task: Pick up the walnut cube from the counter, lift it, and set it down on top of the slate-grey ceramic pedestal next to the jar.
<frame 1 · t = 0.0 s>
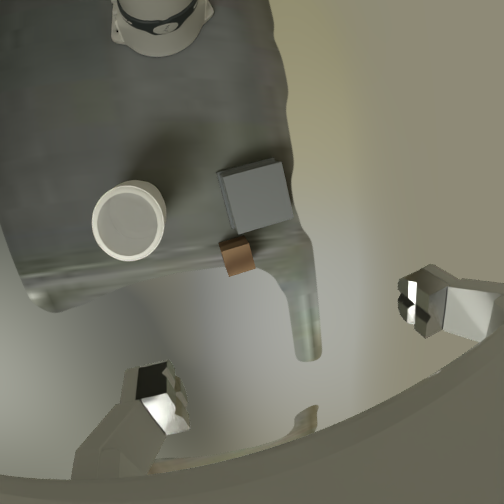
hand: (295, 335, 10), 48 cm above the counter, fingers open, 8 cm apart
pedestal: (252, 192, 57), on the counter
jar: (140, 203, 53), on the counter
cube: (234, 251, 60), on the counter
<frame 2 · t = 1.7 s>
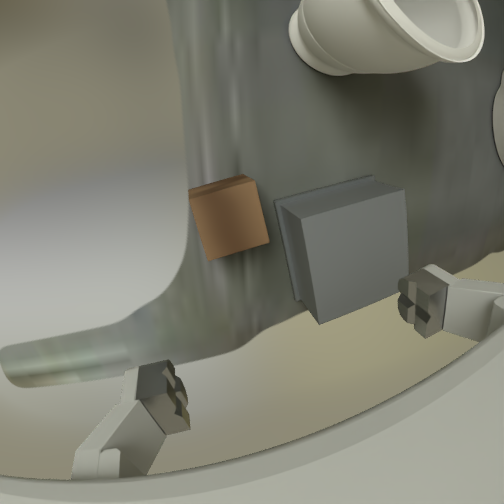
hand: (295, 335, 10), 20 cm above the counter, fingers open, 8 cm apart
pedestal: (333, 237, 31), on the counter
jar: (328, 38, 24), on the counter
cube: (222, 208, 28), on the counter
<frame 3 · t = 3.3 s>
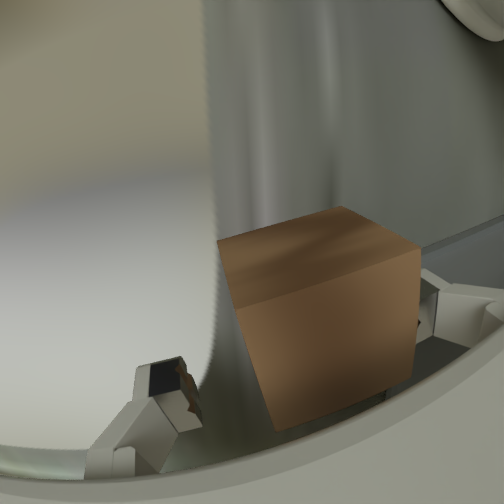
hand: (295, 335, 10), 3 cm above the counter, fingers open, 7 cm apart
pedestal: (458, 312, 16), on the counter
cube: (293, 279, 13), on the counter
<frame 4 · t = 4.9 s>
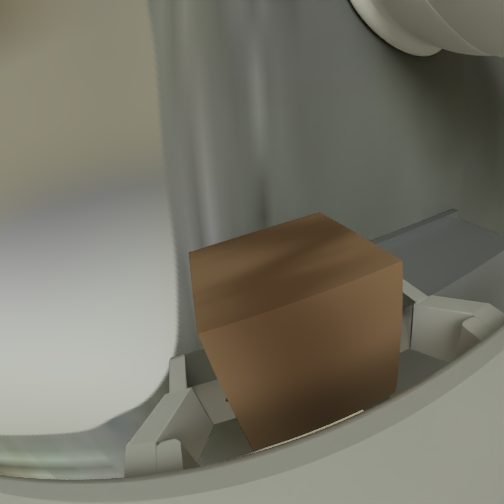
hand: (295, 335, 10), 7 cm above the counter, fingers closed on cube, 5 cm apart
pedestal: (400, 303, 19), on the counter
jar: (395, 0, 13), on the counter
cube: (270, 290, 12), point 4 cm above the counter, touching gripper
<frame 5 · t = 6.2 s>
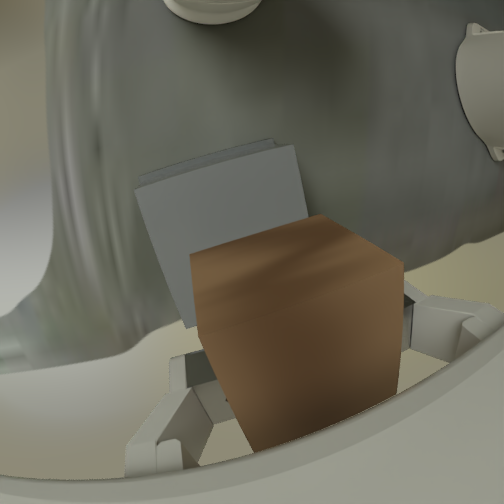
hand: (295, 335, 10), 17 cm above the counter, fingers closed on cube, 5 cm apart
pedestal: (223, 219, 25), on the counter
cube: (271, 292, 12), point 14 cm above the counter, touching gripper
when the fingers open (9 cm above the counter, at t = 7.5 s): cube stays where it is, resting on pedestal.
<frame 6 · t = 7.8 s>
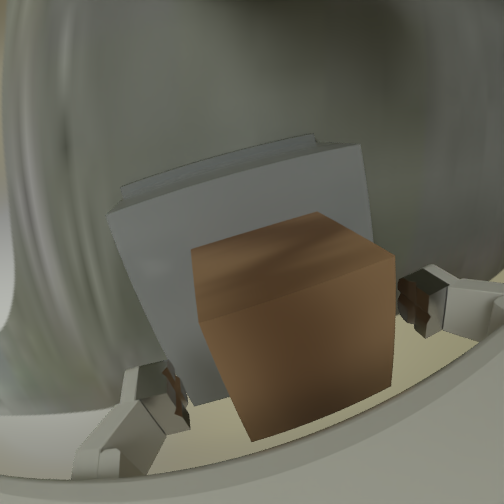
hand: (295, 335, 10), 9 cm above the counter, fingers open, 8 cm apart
pedestal: (242, 246, 18), on the counter
cube: (269, 287, 12), point 6 cm above the counter, touching pedestal
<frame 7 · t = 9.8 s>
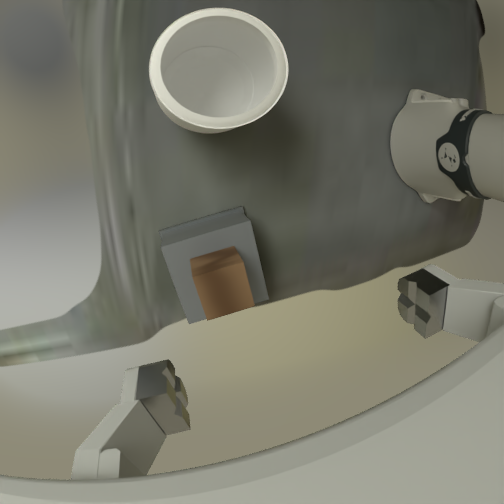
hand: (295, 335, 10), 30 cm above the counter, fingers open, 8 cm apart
pedestal: (211, 257, 40), on the counter
jar: (203, 95, 34), on the counter
cube: (217, 272, 35), point 6 cm above the counter, touching pedestal
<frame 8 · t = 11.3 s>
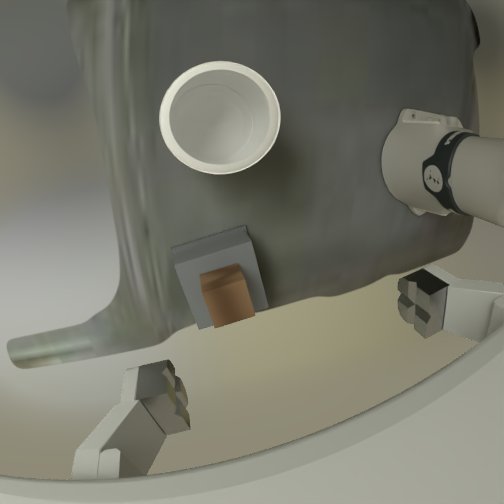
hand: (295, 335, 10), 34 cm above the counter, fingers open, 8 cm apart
pedestal: (218, 269, 45), on the counter
jar: (207, 126, 38), on the counter
cube: (223, 285, 40), point 6 cm above the counter, touching pedestal
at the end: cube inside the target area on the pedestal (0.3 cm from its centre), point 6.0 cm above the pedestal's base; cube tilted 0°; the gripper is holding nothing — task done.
